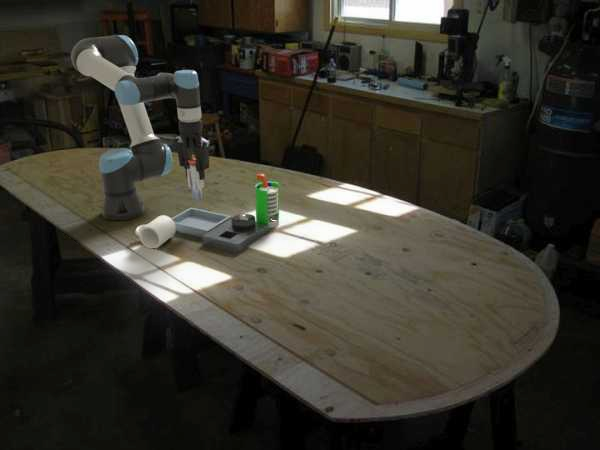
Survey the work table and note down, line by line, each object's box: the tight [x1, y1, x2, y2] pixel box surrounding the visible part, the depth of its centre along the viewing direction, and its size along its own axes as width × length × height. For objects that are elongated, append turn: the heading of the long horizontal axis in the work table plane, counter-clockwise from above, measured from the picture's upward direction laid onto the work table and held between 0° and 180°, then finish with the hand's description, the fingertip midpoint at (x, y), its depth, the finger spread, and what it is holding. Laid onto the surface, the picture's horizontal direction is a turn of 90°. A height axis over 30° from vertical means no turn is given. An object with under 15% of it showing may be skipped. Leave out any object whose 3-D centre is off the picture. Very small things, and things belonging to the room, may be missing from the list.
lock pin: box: [188, 156, 203, 202], centre depth 204 cm, size 4×4×14 cm
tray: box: [170, 207, 233, 239], centre depth 211 cm, size 18×14×3 cm
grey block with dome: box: [202, 213, 269, 254], centre depth 201 cm, size 14×18×7 cm
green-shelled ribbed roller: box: [254, 173, 280, 229], centre depth 209 cm, size 9×8×18 cm
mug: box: [134, 214, 177, 250], centre depth 199 cm, size 12×10×8 cm
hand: (196, 187), depth 205 cm, fingers closed on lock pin, 3 cm apart
